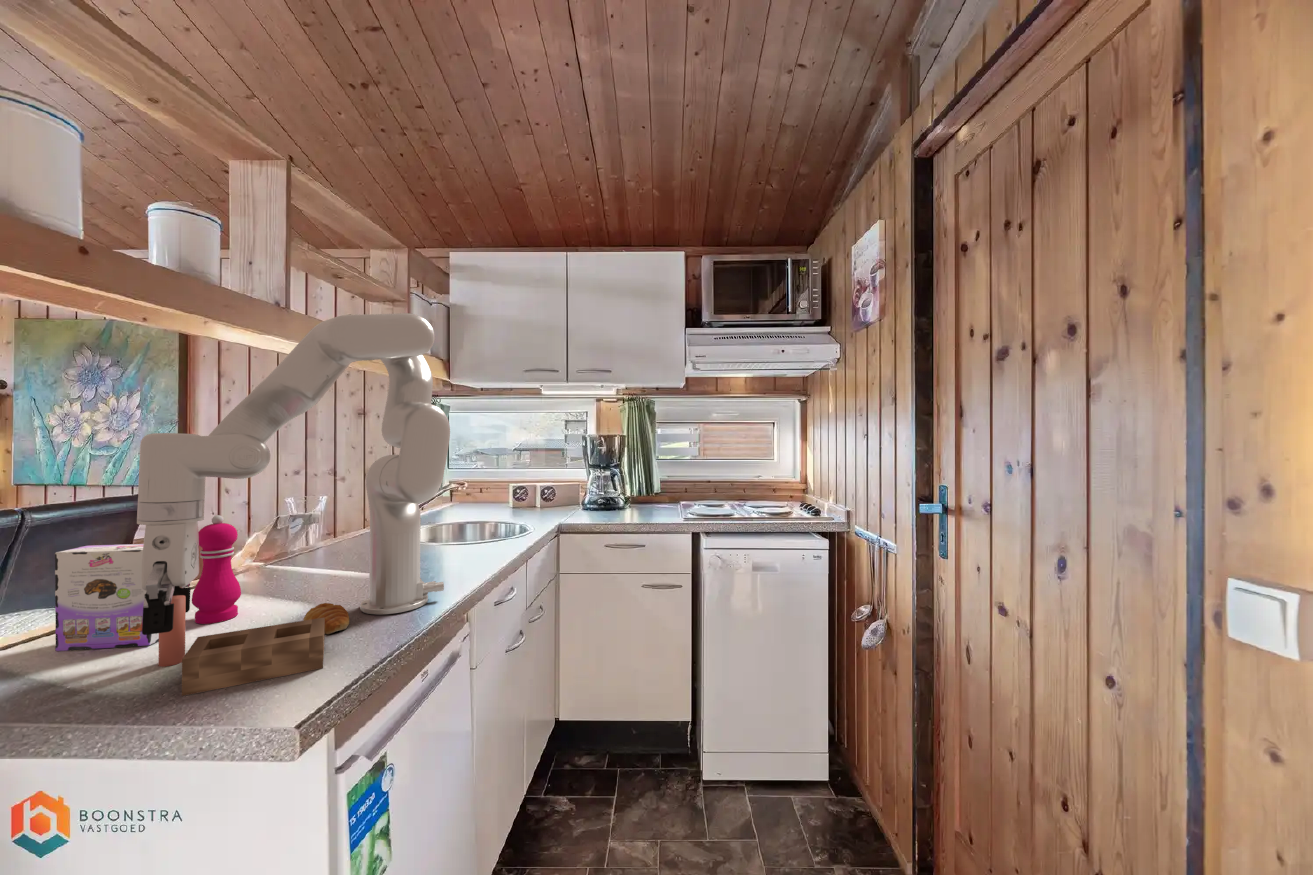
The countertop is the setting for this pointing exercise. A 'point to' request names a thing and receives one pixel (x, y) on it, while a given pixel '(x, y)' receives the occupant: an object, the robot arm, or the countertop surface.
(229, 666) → the hole block
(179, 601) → the peg
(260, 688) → the countertop surface
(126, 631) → the candy box
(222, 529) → the pepper mill
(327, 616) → the pastry
